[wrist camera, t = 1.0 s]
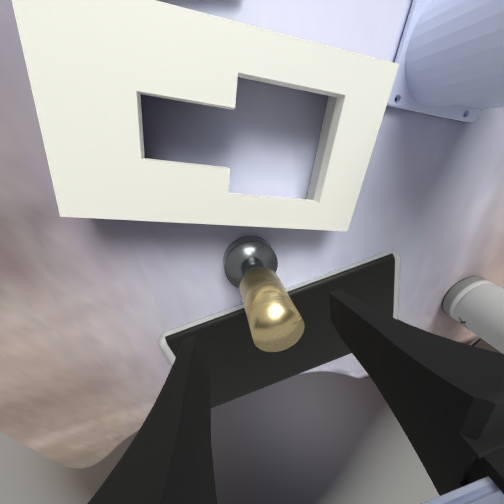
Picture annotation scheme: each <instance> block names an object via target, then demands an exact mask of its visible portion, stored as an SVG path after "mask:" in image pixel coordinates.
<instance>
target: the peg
mask: <svg viewBox="0 0 504 504" xmlns="http://www.w3.org/2000/svg"><path fill="white" fill-rule="evenodd" d="M277 265H278V262H277V257H276V255H275V253H274V251H273V250H272V248H271V247H270V245H269V244H268V243H267V242H266V241H265V240H263V239H262V238H259V237H255V236H246V237H242V238H239V239H237V240H235V241H234V242H233V243H232V244H231V245H230V246H229V247H228V248H227V250H226V252H225V255H224V268H225V273H226V276H227V278H228V280H229V281H230V282H231V283H232V284H233V285H234V286H236V287H238V288H239V289H240V293H241V297H242V301H243V305H244V308H245V312H246V316H247V319H248V323H249V327H250V330H251V334H252V338H253V341H254V344H255V345H256V346H257V347H258V348H259V349H261V350H263V351H266V352H279V351H282V350H285V349H288V348H289V347H291V346H293V345H294V344H295V343H296V342H297V341H298V340H299V339H300V338H301V336H302V334H303V332H304V321H303V319H302V318H301V316H300V314H299V312H298V311H297V309H296V307H295V305H294V304H293V302H292V300H291V298H290V297H289V295H288V293H287V291H286V290H285V288H284V286H283V285H282V283H281V281H280V279H279V278H278V276H277V274H276V270H277Z"/></svg>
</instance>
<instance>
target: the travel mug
mask: <svg viewBox="0 0 504 504" xmlns="http://www.w3.org/2000/svg"><path fill="white" fill-rule="evenodd" d="M443 310H444V312H445V313H446V314H448V315H449V316H450V317H452V318H453V319H455V320H457V321H458V322H459V323H460V324H462V325H463V326H465V327H466V328H467V329H469V330H470V331H472V332H473V333H475V334H476V335H477V336H479V337H480V338H482V339H483V340H484V341H486V342H487V343H489V344H490V345H492V346H493V347H494V348H496V349H497V350H499V351H500V352H501V353H503V354H504V288H502V287H500V286H498V285H496V284H493V283H492V282H490V281H488V280H486V279H484V278H482V277H478V276H473V277H468V278H466V279H463V280H461V281H460V282H458V283H457V284H455V285H454V286H453V287H452V288H451V289H450V290H449V292H448V293H447V294H446V296H445V298H444V301H443Z"/></svg>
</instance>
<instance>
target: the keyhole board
mask: <svg viewBox="0 0 504 504" xmlns="http://www.w3.org/2000/svg"><path fill="white" fill-rule="evenodd" d="M12 3H13V8H14V12H15V17H16V21H17V26H18V30H19V35H20V39H21V44H22V48H23V52H24V57H25V61H26V66H27V70H28V75H29V79H30V84H31V88H32V93H33V97H34V101H35V106H36V110H37V115H38V119H39V124H40V128H41V133H42V137H43V142H44V146H45V151H46V155H47V159H48V164H49V168H50V173H51V177H52V182H53V186H54V191H55V195H56V200H57V204H58V208H59V213H60V217H78V218H97V219H117V220H136V221H155V222H175V223H194V224H213V225H232V226H252V227H271V228H290V229H309V230H329V231H348V228H349V225H350V222H351V219H352V215H353V212H354V209H355V206H356V203H357V199H358V196H359V193H360V190H361V186H362V183H363V180H364V177H365V174H366V170H367V167H368V164H369V161H370V157H371V154H372V151H373V148H374V145H375V141H376V138H377V135H378V132H379V128H380V125H381V122H382V119H383V115H384V112H385V109H386V106H387V103H388V99H389V96H390V93H391V90H392V86H393V83H394V80H395V77H396V74H397V70H398V67H399V64H398V63H394V62H390V61H386V60H382V59H378V58H375V57H371V56H367V55H363V54H359V53H356V52H352V51H348V50H344V49H340V48H336V47H333V46H329V45H325V44H321V43H317V42H313V41H310V40H306V39H302V38H298V37H294V36H290V35H287V34H283V33H279V32H275V31H271V30H268V29H264V28H260V27H256V26H252V25H248V24H245V23H241V22H237V21H233V20H229V19H225V18H222V17H218V16H214V15H210V14H206V13H203V12H199V11H195V10H191V9H187V8H183V7H180V6H176V5H172V4H168V3H164V2H160V1H157V0H12ZM238 77H239V78H244V79H249V80H254V81H259V82H264V83H269V84H274V85H279V86H283V87H288V88H293V89H298V90H303V91H308V92H313V93H318V94H323V95H327V96H329V97H328V101H327V106H326V111H325V115H324V120H323V124H322V129H321V133H320V138H319V143H318V147H317V152H316V156H315V161H314V165H313V170H312V175H311V179H310V184H309V188H308V193H307V197H306V199H297V198H285V197H273V196H261V195H250V194H238V193H228V191H229V179H230V168H229V167H220V166H211V165H202V164H193V163H184V162H175V161H166V160H157V159H148V158H145V157H144V141H143V125H142V109H141V94H143V95H149V96H154V97H160V98H166V99H172V100H178V101H184V102H190V103H196V104H201V105H207V106H213V107H219V108H225V109H231V110H233V109H235V104H236V91H237V79H238Z"/></svg>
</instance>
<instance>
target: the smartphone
mask: <svg viewBox="0 0 504 504" xmlns="http://www.w3.org/2000/svg"><path fill="white" fill-rule="evenodd" d="M399 279H400V255H399V254H398V253H396V252H394V251H387V252H384V253H382V254H379V255H376V256H373V257H371V258H368V259H365V260H362V261H359V262H357V263H354V264H351V265H348V266H346V267H343V268H340V269H337V270H334V271H332V272H329V273H326V274H323V275H321V276H318V277H315V278H312V279H310V280H307V281H304V282H301V283H298V284H296V285H293V286H290V287H287V288H285V290H286V291H287V293H288V295H289V297H290V298H291V300H292V302H293V304H294V305H295V307H296V309H297V311H298V312H299V314H300V316H301V318H302V319H303V321H304V332H303V334H302V336H301V338H300V339H299V340H298V341H297V342H296V343H295V344H294V345H293V346H291V347H289V348H288V349H285V350H282V351H279V352H266V351H263V350H261V349H259V348H258V347H257V346H256V345H255V344H254V341H253V338H252V334H251V330H250V327H249V323H248V319H247V316H246V312H245V308H244V305H243V304H241V305H238V306H235V307H232V308H230V309H227V310H224V311H221V312H219V313H216V314H213V315H210V316H208V317H205V318H202V319H199V320H197V321H194V322H191V323H188V324H186V325H183V326H180V327H177V328H175V329H172V330H169V331H167V332H164V333H163V334H162V335H161V337H160V341H159V346H160V348H161V349H162V351H163V352H164V354H165V355H166V356H167V358H168V359H169V361H170V362H171V364H172V365H173V364H174V361H175V359H176V356H177V354H178V351H179V349H180V346H181V343H182V341H183V339H184V338H186V337H189V336H192V335H196V336H197V338H198V340H199V342H200V344H201V347H202V349H203V351H204V353H205V355H206V357H207V360H208V365H209V373H210V393H211V408H213V407H216V406H218V405H221V404H223V403H226V402H228V401H231V400H233V399H236V398H239V397H241V396H243V395H246V394H249V393H251V392H253V391H256V390H259V389H261V388H264V387H266V386H269V385H272V384H274V383H277V382H279V381H281V380H284V379H287V378H289V377H292V376H294V375H297V374H299V373H302V372H305V371H307V370H310V369H312V368H315V367H317V366H320V365H322V364H325V363H327V362H330V361H332V360H335V359H338V358H340V357H343V356H345V355H348V354H350V353H352V352H351V351H350V349H349V348H348V347H347V345H346V344H345V343H344V341H343V340H342V339H341V337H340V335H339V334H338V332H337V330H336V329H335V327H334V325H333V323H332V322H331V316H330V302H329V292H332V291H335V290H338V289H340V290H342V291H344V292H346V293H348V294H349V295H351V296H353V297H355V298H356V299H358V300H360V301H362V302H364V303H365V304H367V305H369V306H371V307H373V308H375V309H377V310H379V311H381V312H383V313H385V314H387V315H389V316H391V317H393V318H395V319H397V320H398V301H399Z"/></svg>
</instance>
